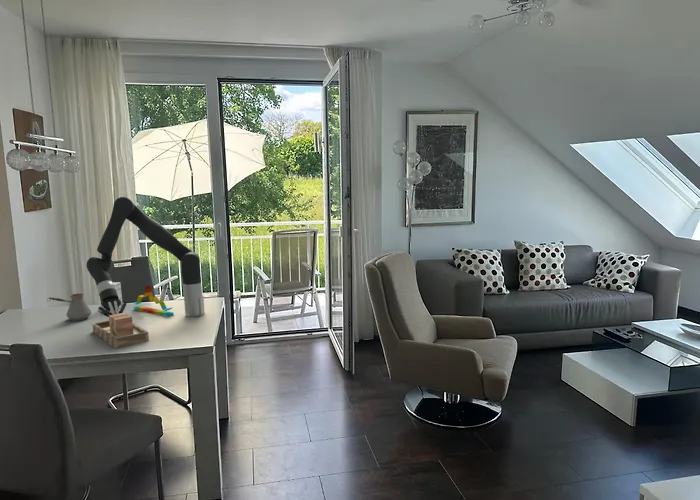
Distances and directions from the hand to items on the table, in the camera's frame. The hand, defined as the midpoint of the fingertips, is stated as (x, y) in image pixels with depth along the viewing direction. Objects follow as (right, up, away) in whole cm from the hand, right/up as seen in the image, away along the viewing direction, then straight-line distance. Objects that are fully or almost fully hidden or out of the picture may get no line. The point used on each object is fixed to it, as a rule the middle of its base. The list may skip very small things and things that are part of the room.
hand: (117, 322), depth 228 cm
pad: (+4, -7, -4) cm, 9 cm away
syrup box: (-26, 0, +52) cm, 58 cm away
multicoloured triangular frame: (0, -1, +41) cm, 41 cm away
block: (+4, -4, -4) cm, 7 cm away
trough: (+1, -6, 0) cm, 6 cm away
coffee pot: (-37, -4, +27) cm, 46 cm away
